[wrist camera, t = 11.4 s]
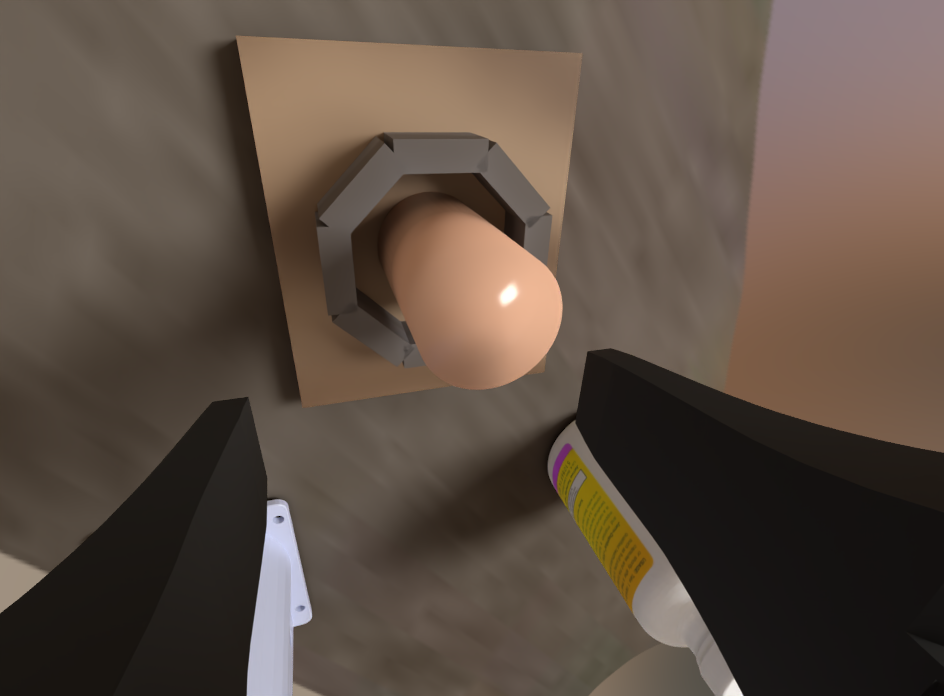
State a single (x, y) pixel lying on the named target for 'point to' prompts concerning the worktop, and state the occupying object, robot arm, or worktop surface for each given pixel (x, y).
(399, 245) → the peach rounded peg
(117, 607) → the robot arm
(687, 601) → the supplement bottle
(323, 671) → the worktop surface
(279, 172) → the octagonal holder plate
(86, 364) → the worktop surface
